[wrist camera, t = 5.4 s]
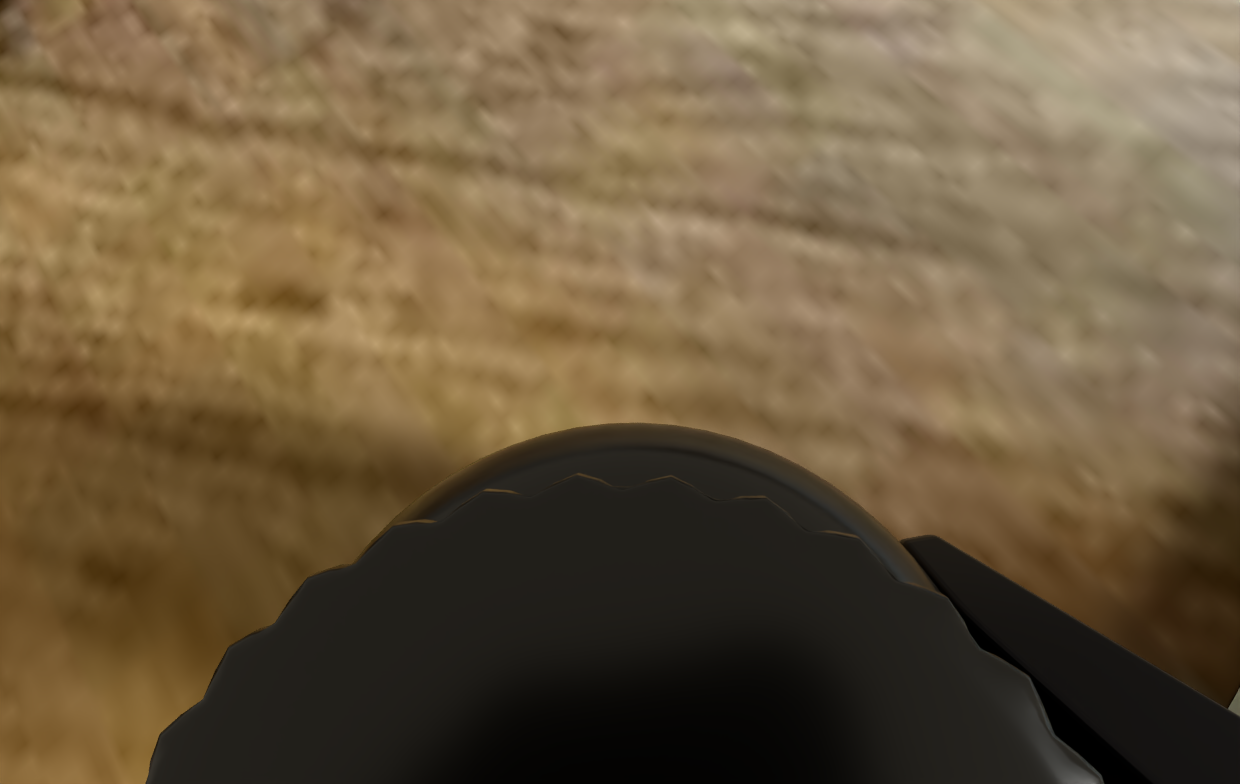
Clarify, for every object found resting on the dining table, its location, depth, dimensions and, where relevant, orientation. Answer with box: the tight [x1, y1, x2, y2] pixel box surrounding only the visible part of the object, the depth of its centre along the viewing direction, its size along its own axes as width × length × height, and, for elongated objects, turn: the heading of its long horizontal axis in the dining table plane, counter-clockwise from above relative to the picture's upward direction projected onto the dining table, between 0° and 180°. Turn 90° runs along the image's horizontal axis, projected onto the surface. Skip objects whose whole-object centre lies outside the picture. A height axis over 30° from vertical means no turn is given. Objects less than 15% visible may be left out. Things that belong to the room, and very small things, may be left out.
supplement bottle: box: [146, 423, 1104, 784], centre depth 9 cm, size 7×7×12 cm
